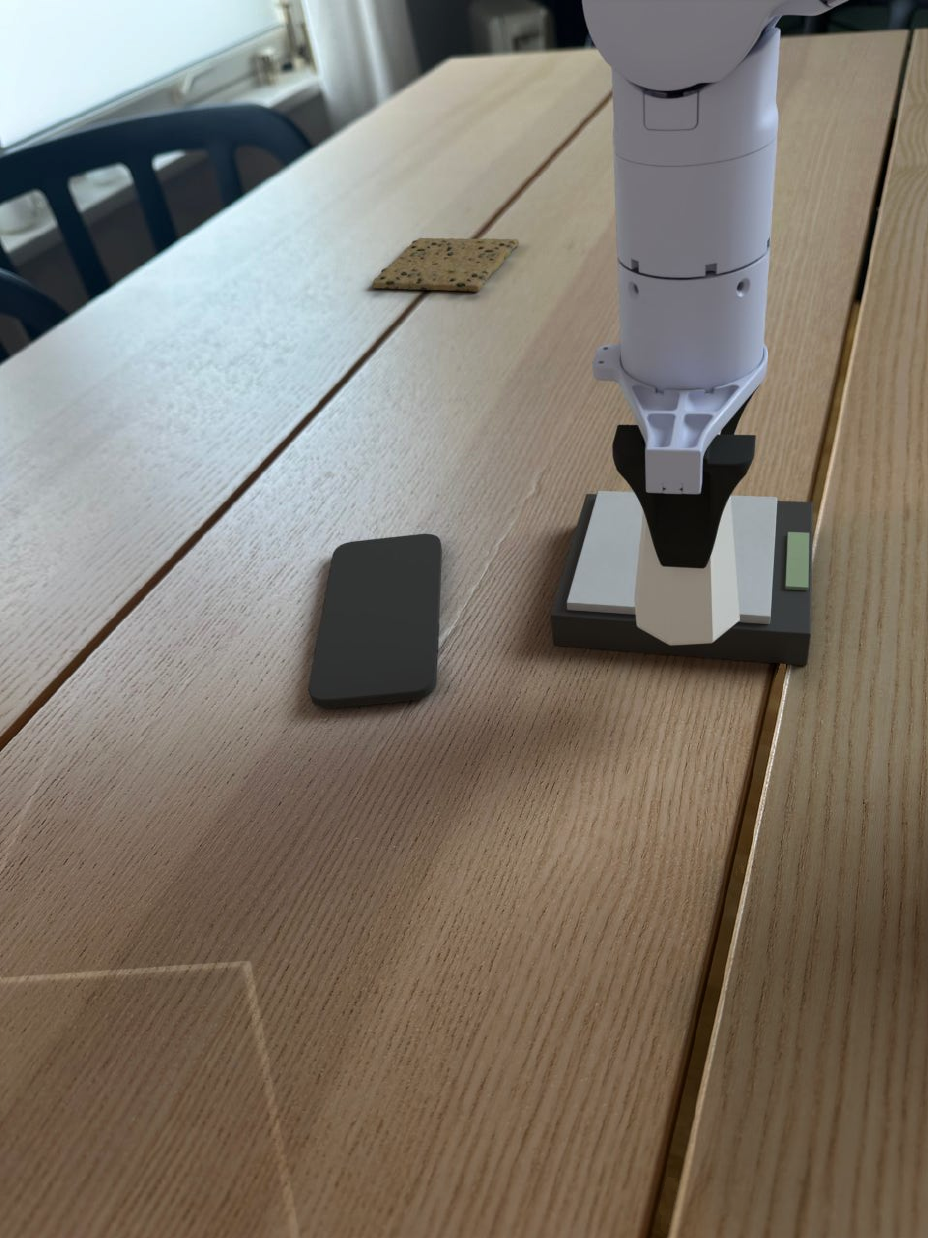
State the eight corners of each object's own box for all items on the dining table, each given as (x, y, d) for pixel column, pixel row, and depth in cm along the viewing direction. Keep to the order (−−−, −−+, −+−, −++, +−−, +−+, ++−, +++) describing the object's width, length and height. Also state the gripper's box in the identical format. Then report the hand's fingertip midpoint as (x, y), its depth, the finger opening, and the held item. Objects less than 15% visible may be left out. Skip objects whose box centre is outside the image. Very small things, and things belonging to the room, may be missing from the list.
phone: (442, 531, 66) (435, 690, 54) (443, 540, 66) (437, 700, 55) (333, 542, 66) (304, 702, 55) (336, 552, 67) (308, 712, 55)
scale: (809, 532, 61) (814, 493, 60) (807, 666, 53) (812, 625, 51) (587, 522, 65) (585, 485, 63) (553, 645, 57) (549, 607, 55)
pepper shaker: (707, 565, 52) (712, 378, 45) (762, 626, 48) (779, 431, 41) (613, 597, 51) (604, 411, 44) (662, 662, 47) (660, 469, 40)
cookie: (521, 242, 104) (520, 233, 103) (479, 292, 96) (478, 282, 95) (419, 241, 108) (417, 232, 107) (371, 288, 100) (369, 279, 99)
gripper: (614, 186, 44) (624, 448, 53) (553, 337, 33) (578, 630, 42) (780, 177, 42) (761, 450, 51) (769, 335, 32) (747, 642, 40)
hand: (688, 533), depth 46 cm, fingers closed on pepper shaker, 4 cm apart
